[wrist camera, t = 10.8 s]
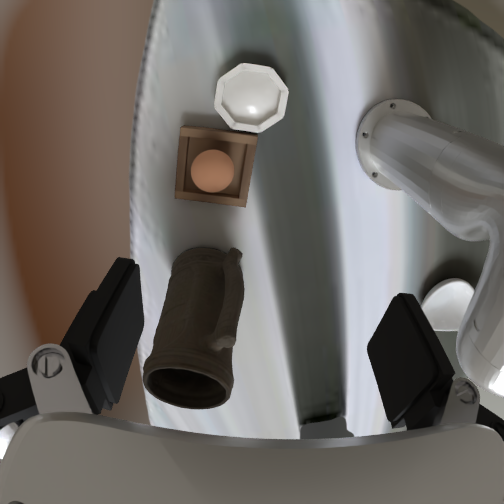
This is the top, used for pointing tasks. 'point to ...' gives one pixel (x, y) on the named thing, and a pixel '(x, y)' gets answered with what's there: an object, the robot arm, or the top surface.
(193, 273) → the beer stein
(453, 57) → the top surface
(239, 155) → the tray
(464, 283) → the spoon rest
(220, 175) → the ball
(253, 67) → the octagonal white dish
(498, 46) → the top surface
